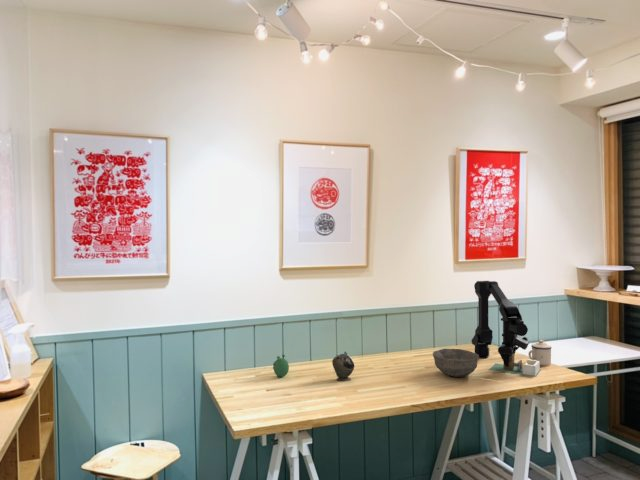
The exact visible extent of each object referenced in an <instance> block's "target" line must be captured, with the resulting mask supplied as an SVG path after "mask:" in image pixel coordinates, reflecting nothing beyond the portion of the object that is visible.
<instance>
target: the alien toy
mask: <svg viewBox="0 0 640 480" xmlns="http://www.w3.org/2000/svg"><path fill="white" fill-rule="evenodd" d="M281 356H282V357H281ZM281 356H280V355H278V356H276V360H275V361H274V362H273V367H272V369H273V372H274V374H275V375H276V376H277V377H280V378H283V377H285V376H286V375H287V374H288V373H289V371H290V365H289V363H288V360H287V359H285V357H286V355H285V354H282V355H281Z"/></svg>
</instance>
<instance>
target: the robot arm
mask: <svg viewBox="0 0 640 480" xmlns="http://www.w3.org/2000/svg"><path fill="white" fill-rule="evenodd" d="M473 287H474V292H475V295H476V297H478V298H477V299H478V309H477V311H478V315H477V317H478V318H477V319H478V320H477V321H478V325H477V327H476V329H475V331H474V336H473V337H472V338H471V344H472V345H473V346H474V353H476V354H477V355H479V358H482V359H487V358H488V357H489V356H490V347H489V346H491V345H492V344H493V343H492V341H493V337H494V335H493V330H492V329H491V328H490V327H489V298H490V297H491V295H492V297H493V299H494V301H496V303H497V305H498V306H499V307H498V311H499V313H500V315H501V318H500V321H501V322H502V333H501V337H502V342H501V345H500V346H499V347H498V348H497V353H498V354H499V355H500V358H501V359H502V363H503V364H505V366H506V367H508V366H509V360H510V356H511V355H512V354H513V353H514V356H516V351H518V350H519V349H522V350H527V348H528V346H529V344H530V341H528V337H526V335H527V334H528V331H529V330H528V329H529V328H528V326H527V324H525V323H524V321H523V317H522V314H521V312H520V311H519V308H518V306H517V305H516V303H514V302H513V301H511V300H509V299H508V298H507V296H506V295H505V293H504V292H503V291H502V290H503V289H501V287H500V285H499V283H498V281H495V280H492V281H490V280H476V282H475V283H474V286H473ZM518 336H519V337H518Z"/></svg>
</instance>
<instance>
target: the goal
mask: <svg viewBox="0 0 640 480" xmlns="http://www.w3.org/2000/svg"><path fill="white" fill-rule="evenodd" d="M526 363H528V364H529V365H528V364H523V374H527V375H534V376H536V374H537V373H538V372H539V370H541V369H540V367H541V365H540V361H536V360H531V359H526ZM539 373H540V372H539ZM536 377H537V376H536Z"/></svg>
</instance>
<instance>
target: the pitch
mask: <svg viewBox="0 0 640 480" xmlns="http://www.w3.org/2000/svg"><path fill="white" fill-rule="evenodd" d="M488 371H491V372H499V373H500V372H501V373H508V374H514V375H520V376H526V377H527V376H528V377H537V376H538V375H539V374H540V372H541V371H542V369H540V370H539V372H538V373H537V374H536V376H534V375H527V374H523V370H522V369H521V370H520V371H519V372H517V366H514V369H513V370H508V369H504V363H497V362H496V363H494V364H493V365H492V366H491V367H490V368H489V369H488Z"/></svg>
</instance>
